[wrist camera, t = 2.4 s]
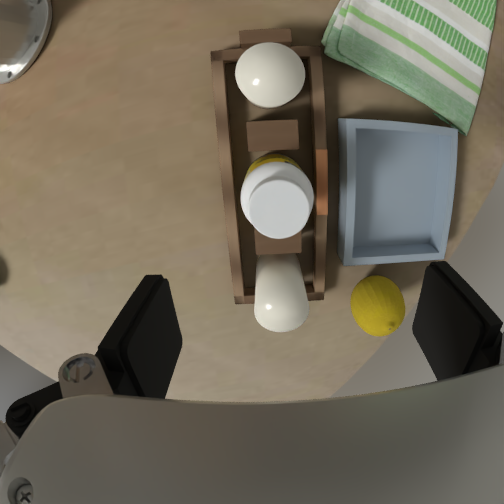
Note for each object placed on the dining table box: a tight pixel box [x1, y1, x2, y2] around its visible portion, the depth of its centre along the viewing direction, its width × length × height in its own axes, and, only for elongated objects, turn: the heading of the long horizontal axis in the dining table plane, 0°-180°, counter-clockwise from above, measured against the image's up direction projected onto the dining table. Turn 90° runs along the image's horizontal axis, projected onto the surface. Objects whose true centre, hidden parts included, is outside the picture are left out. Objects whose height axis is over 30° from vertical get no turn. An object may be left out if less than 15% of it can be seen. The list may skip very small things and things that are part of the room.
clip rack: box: [211, 28, 328, 304], centre depth 26 cm, size 27×9×4 cm, turn 4°
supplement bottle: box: [241, 153, 314, 239], centre depth 24 cm, size 5×5×10 cm
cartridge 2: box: [254, 253, 309, 332], centre depth 28 cm, size 4×4×8 cm
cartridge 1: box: [235, 42, 305, 109], centre depth 21 cm, size 4×4×8 cm
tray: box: [337, 118, 458, 266], centre depth 26 cm, size 14×12×3 cm
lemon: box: [351, 275, 405, 336], centre depth 29 cm, size 6×6×8 cm
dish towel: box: [322, 0, 497, 136], centre depth 18 cm, size 18×23×3 cm
